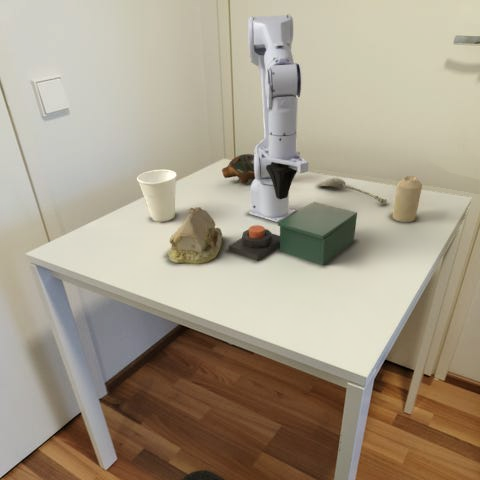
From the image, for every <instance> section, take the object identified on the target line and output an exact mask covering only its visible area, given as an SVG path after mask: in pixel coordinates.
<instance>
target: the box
mask: <svg viewBox="0 0 480 480" xmlns="http://www.w3.org/2000/svg"><path fill="white" fill-rule="evenodd" d="M357 218H358V215H357V216H355V217H354V218H352V219H351V220H349V221H348V222H347V223H345V224H344V225H342V226H341V227H339V228H338V229H336V230H335V231H334V232H332V233H331V234H329V235H328V236H326V237H325V238H323V239H321V238H317V237H314V236H311V235H307V234H304V233H301V232H297V231H294V230H291V229H287V228H284V227H281V226H279V236H280V246H279V252H281V253H284V254H287V255H290V256H293V257H295V258H299V259H302V260H305V261H308V262H311V263H314V264H317V265H319V266H323V267H324V265H326V264H327V263H328V262H329V261H330V260H332V259H333V258H334V257H336V256H337V255H338V254H340V253H341V252H342V251H343V250H344V249H346V248H347V247H349V246H350V245H351V244H352V243H354V241H355V235H356V225H357Z"/></svg>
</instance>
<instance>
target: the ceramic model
mask: <svg viewBox="0 0 480 480" xmlns="http://www.w3.org/2000/svg"><path fill="white" fill-rule="evenodd" d="M222 232H223V231H222V230H221V228H220V227H216V222H215V220H214V219H213V217H212V216H211V215H210V213H209V212H208V211H207V210H205V209H203V208H202V207H201V206H196V207H191V208H189V210H188V215H187V217H186V218H185V220H183V223H182V224H181V225H180V226H179V227H178V228H177V230H176V231H175V232H174V233H173V234H172V235H171V236H170V238H169V243H170V244H171V245H170V246H171V247H170V249H168V252H167V256H168V258H169V260H170V261H171V262H172V263H176V264H177V263H178V264H179V263H184V264H185V263H187V264H200V265H201V264H204V263H207V262H209V261H212V260H213V259H215V258H216V257H217V256H218V254H219V252H220V249H221V247H222V244H223V233H222Z"/></svg>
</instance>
